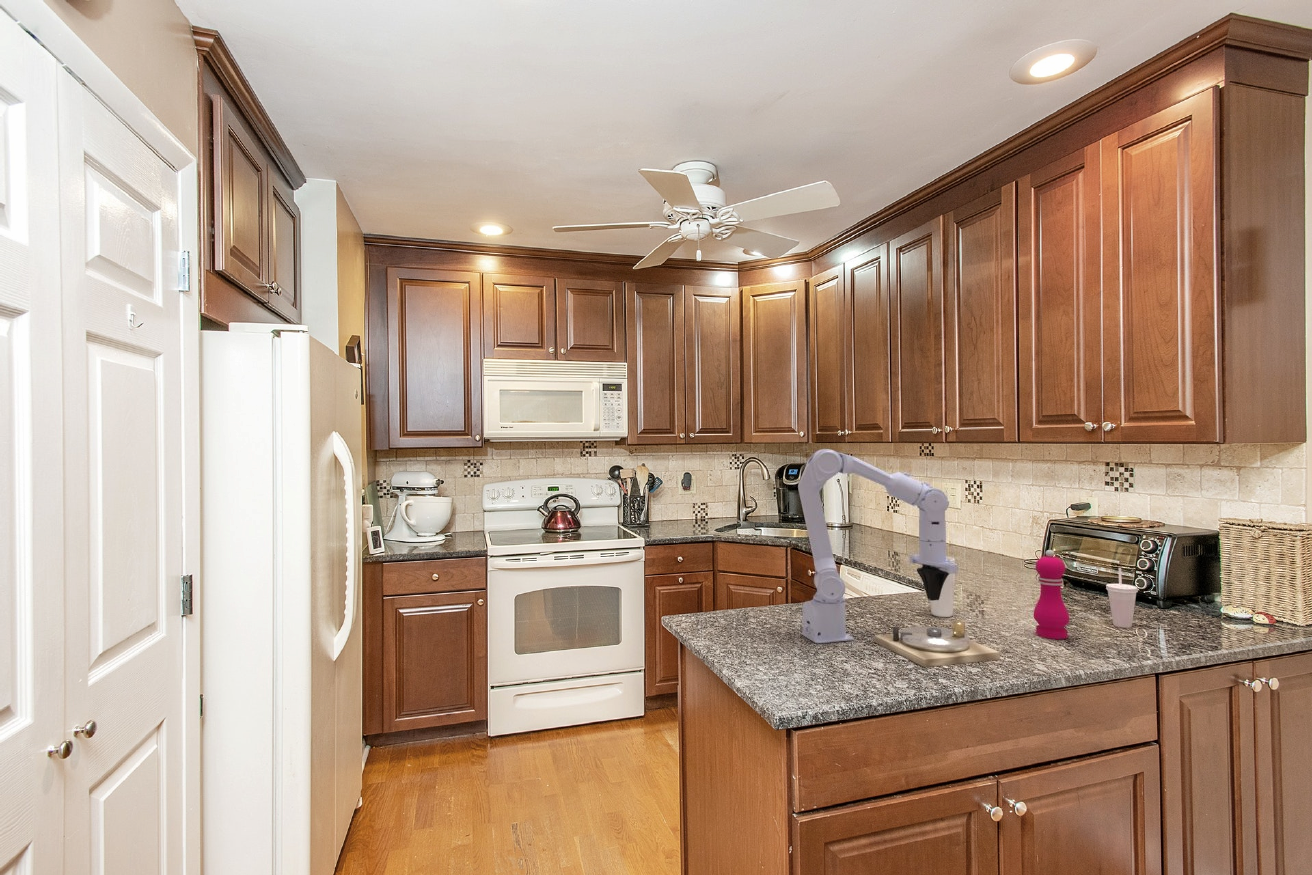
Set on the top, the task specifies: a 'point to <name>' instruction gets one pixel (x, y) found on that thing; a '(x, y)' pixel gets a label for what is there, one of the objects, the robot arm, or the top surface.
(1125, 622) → the smoothie
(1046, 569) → the pepper mill
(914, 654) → the base plate
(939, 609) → the drinking glass
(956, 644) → the flange disc
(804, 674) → the top surface
